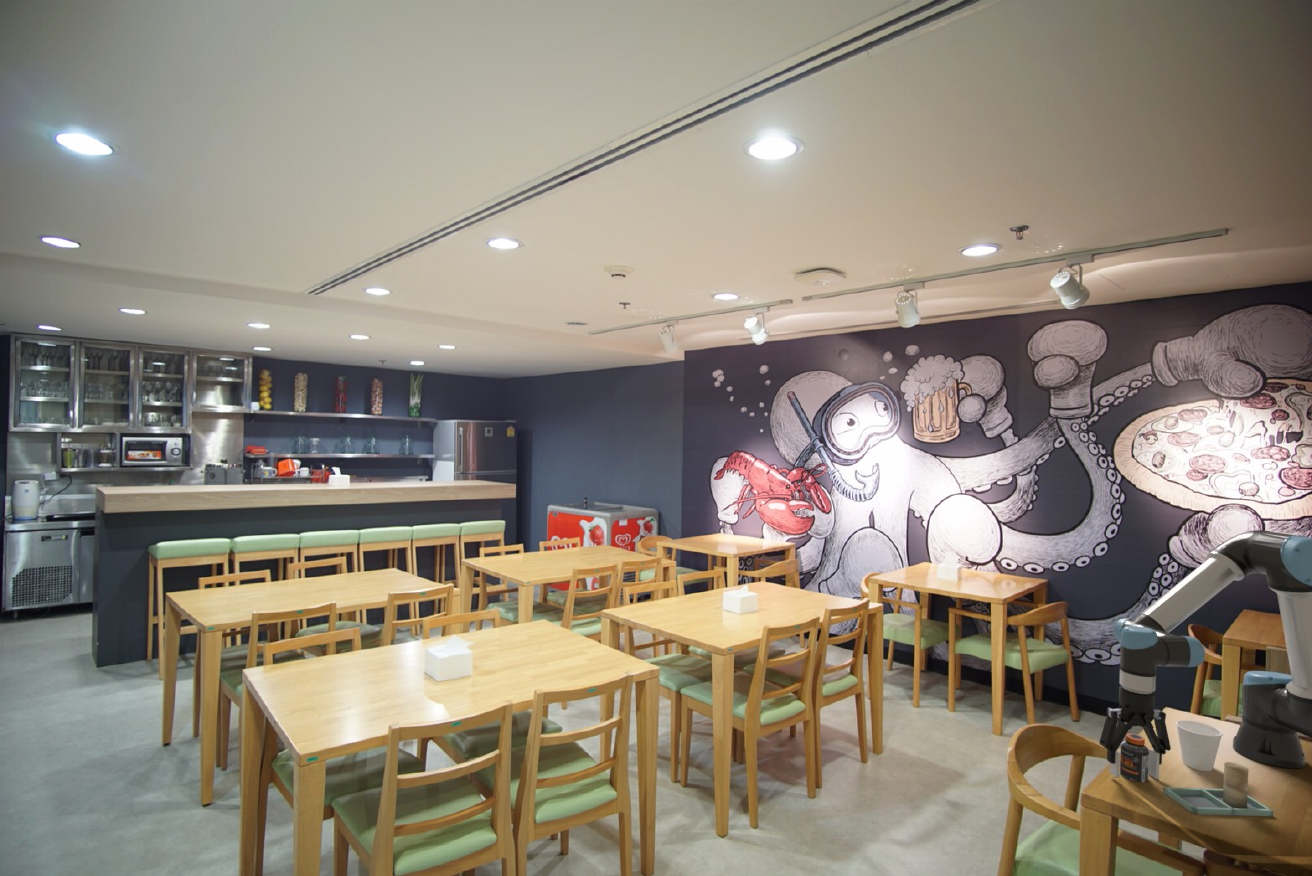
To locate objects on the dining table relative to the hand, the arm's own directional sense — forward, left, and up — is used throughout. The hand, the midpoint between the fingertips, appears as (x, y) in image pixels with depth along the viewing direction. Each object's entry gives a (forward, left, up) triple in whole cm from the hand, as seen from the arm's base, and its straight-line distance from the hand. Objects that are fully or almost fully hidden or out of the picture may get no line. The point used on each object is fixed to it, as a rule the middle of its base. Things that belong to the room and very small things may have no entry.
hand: (1133, 775), depth 176 cm
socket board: (-11, +12, -1) cm, 17 cm away
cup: (-22, -7, -1) cm, 23 cm away
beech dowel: (-15, +12, 0) cm, 20 cm away
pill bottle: (0, 0, -1) cm, 1 cm away
